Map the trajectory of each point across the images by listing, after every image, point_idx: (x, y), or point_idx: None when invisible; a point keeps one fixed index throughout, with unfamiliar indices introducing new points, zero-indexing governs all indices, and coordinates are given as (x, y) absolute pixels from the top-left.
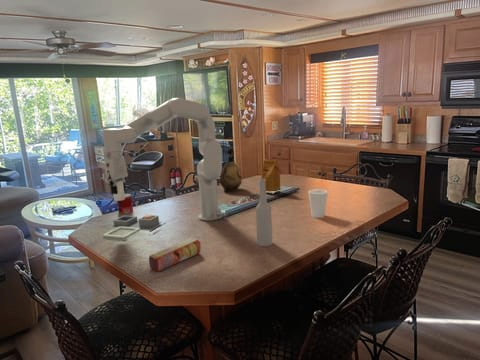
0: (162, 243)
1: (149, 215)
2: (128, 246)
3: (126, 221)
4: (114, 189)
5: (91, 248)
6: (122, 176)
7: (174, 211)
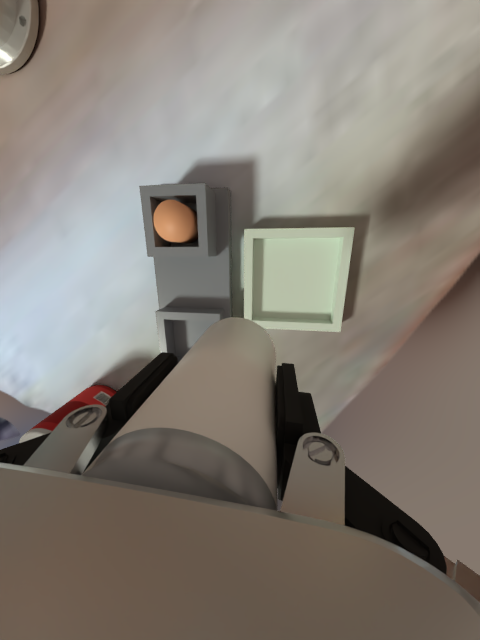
0: (347, 18)
1: (161, 222)
2: (396, 174)
3: (218, 315)
4: (303, 409)
5: (424, 312)
6: (64, 512)
7: (14, 247)
